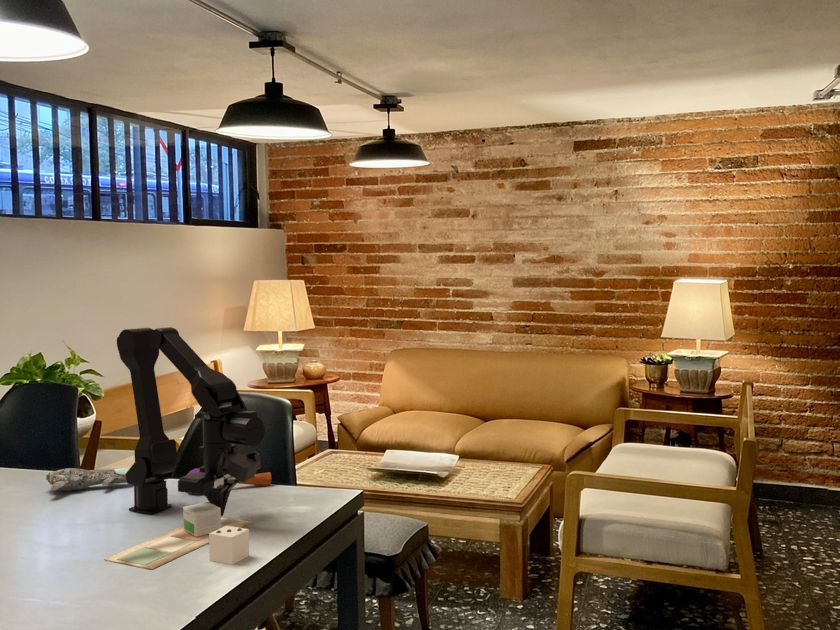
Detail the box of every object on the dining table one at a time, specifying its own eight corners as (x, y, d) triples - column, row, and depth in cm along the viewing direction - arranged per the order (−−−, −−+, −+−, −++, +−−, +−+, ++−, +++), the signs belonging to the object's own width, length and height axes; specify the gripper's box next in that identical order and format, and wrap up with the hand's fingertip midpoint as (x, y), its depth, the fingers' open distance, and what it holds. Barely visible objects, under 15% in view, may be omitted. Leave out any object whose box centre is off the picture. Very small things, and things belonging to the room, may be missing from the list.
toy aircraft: (137, 494, 190) (137, 472, 190) (43, 502, 183) (42, 479, 183) (137, 477, 205) (137, 456, 205) (50, 483, 199) (49, 462, 199)
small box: (182, 530, 163) (182, 506, 163) (209, 524, 167) (209, 501, 166) (194, 537, 159) (194, 512, 158) (222, 531, 162) (221, 507, 162)
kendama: (274, 472, 195) (188, 474, 187) (271, 495, 197) (185, 499, 188) (268, 462, 201) (184, 464, 192) (265, 485, 202) (181, 488, 193)
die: (209, 560, 148) (209, 531, 147) (226, 552, 152) (226, 523, 152) (232, 565, 145) (231, 535, 145) (249, 556, 150) (248, 527, 150)
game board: (104, 560, 147) (104, 558, 147) (208, 515, 174) (208, 514, 174) (151, 569, 143) (151, 568, 143) (251, 522, 169) (251, 521, 169)
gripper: (221, 454, 155) (224, 535, 156) (277, 435, 172) (278, 508, 173) (174, 449, 159) (177, 528, 160) (233, 431, 177) (234, 502, 178)
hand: (219, 516), depth 168 cm, fingers closed
